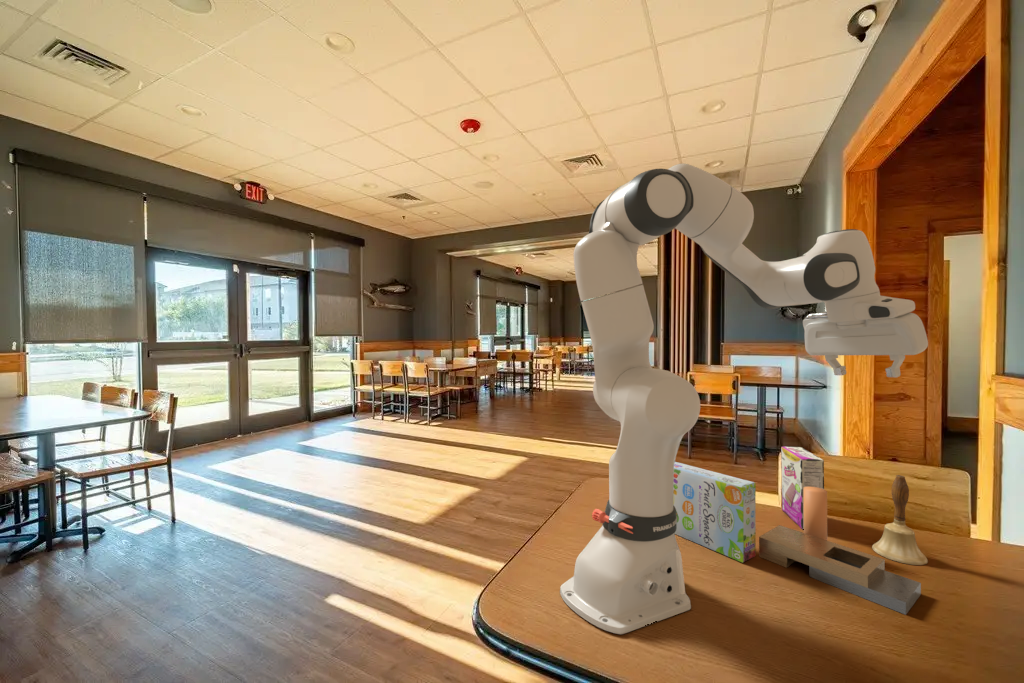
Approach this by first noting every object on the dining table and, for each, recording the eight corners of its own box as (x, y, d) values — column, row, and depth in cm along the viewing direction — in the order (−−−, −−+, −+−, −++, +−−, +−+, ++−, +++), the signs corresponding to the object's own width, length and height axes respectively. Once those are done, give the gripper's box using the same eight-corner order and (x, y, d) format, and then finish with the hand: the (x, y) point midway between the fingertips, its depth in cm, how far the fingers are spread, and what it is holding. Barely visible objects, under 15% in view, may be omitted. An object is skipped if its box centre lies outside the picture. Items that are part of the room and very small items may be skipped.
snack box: (757, 556, 85) (757, 481, 85) (743, 564, 82) (742, 487, 82) (666, 519, 103) (666, 457, 103) (651, 525, 99) (651, 461, 99)
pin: (822, 553, 86) (822, 494, 86) (800, 546, 89) (800, 489, 89) (830, 548, 88) (830, 490, 88) (808, 540, 91) (808, 485, 91)
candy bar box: (780, 510, 107) (779, 445, 107) (802, 511, 106) (802, 446, 106) (801, 530, 96) (800, 458, 96) (825, 532, 95) (825, 459, 95)
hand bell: (928, 554, 85) (928, 475, 85) (927, 570, 79) (926, 485, 79) (874, 540, 91) (874, 466, 91) (869, 554, 85) (869, 475, 85)
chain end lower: (905, 614, 67) (905, 602, 67) (809, 576, 78) (809, 565, 78) (920, 594, 72) (920, 582, 72) (828, 561, 83) (828, 551, 83)
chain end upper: (867, 599, 71) (867, 576, 71) (759, 556, 85) (759, 536, 85) (884, 581, 76) (884, 559, 76) (779, 543, 90) (779, 525, 90)
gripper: (792, 317, 94) (804, 377, 95) (906, 307, 75) (920, 382, 76) (810, 311, 96) (821, 370, 97) (925, 300, 77) (938, 373, 78)
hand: (865, 375), depth 86 cm, fingers open, 8 cm apart
